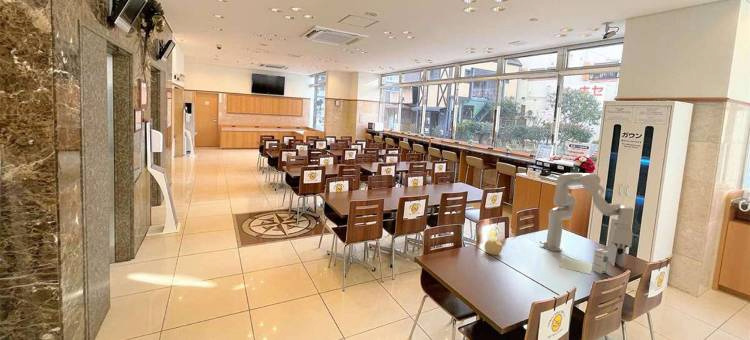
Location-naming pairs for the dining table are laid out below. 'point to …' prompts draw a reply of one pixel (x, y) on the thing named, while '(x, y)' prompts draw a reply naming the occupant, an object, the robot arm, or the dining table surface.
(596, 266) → the syrup box
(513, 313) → the dining table surface
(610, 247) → the upright grey panel
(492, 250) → the sculpture
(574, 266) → the mat
